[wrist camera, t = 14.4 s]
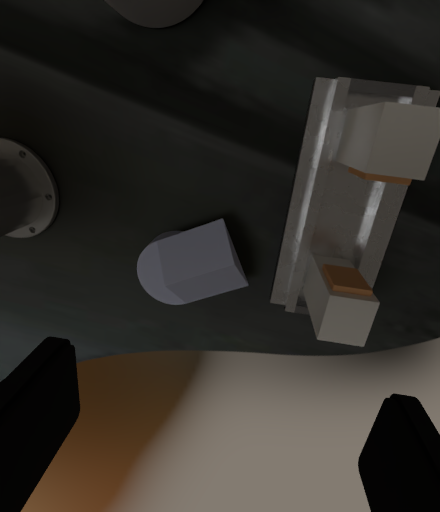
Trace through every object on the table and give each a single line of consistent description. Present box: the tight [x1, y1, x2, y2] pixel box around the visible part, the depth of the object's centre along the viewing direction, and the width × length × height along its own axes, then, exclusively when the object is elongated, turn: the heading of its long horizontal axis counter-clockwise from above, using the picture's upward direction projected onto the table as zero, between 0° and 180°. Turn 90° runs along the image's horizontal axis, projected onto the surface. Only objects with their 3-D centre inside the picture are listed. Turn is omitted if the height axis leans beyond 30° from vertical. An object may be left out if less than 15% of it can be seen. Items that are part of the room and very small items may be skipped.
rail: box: [270, 77, 440, 315], centre depth 35 cm, size 12×26×3 cm, turn 174°
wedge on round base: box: [137, 218, 249, 305], centre depth 38 cm, size 9×7×13 cm
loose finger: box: [335, 102, 440, 185], centre depth 28 cm, size 4×6×10 cm
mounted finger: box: [303, 255, 380, 347], centre depth 34 cm, size 4×6×10 cm
